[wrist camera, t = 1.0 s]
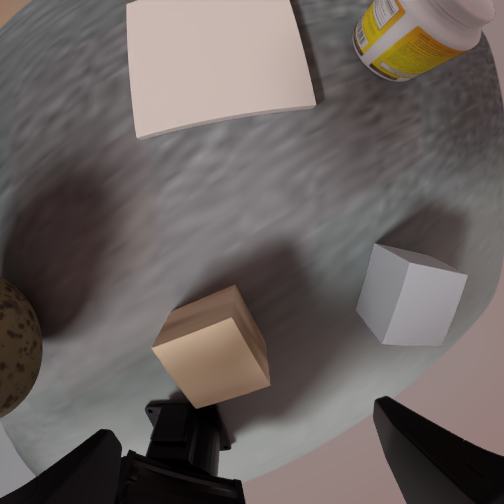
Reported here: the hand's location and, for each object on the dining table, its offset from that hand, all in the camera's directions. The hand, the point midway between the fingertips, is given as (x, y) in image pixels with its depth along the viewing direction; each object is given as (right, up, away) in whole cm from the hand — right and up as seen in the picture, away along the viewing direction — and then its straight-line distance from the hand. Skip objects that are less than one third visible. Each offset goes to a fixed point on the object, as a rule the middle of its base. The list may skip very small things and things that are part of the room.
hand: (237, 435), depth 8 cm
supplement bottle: (+10, +20, +8) cm, 24 cm away
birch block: (-2, +1, +12) cm, 12 cm away
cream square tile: (-2, +19, +8) cm, 21 cm away
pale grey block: (+11, +4, +12) cm, 16 cm away
